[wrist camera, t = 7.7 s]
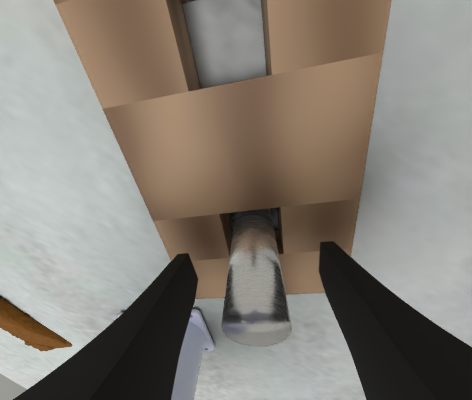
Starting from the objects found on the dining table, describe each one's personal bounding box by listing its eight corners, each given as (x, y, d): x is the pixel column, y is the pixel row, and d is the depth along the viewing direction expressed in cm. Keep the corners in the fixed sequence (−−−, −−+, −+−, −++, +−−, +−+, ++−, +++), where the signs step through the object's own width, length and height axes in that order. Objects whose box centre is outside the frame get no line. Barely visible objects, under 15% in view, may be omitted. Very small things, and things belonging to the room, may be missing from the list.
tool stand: (196, 274, 18) (188, 299, 16) (46, -116, 7) (-39, -203, 5) (332, 264, 16) (345, 291, 14) (383, -249, 6) (463, -453, 4)
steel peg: (238, 228, 15) (228, 346, 8) (232, 199, 14) (214, 309, 7) (272, 225, 15) (292, 345, 8) (269, 194, 13) (290, 306, 6)
